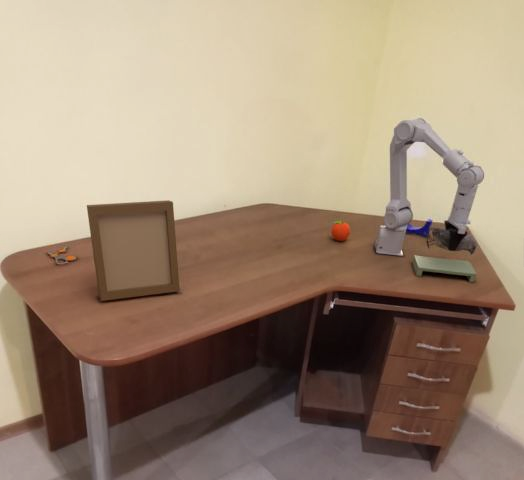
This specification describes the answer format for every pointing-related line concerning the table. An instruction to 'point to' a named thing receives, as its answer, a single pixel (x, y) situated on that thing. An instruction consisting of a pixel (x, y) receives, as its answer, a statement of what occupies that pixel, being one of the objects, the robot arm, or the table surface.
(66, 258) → the key chain
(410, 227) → the blue curved piece
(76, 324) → the table surface
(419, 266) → the shelf
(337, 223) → the red tomato
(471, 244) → the bird
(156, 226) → the photo frame
